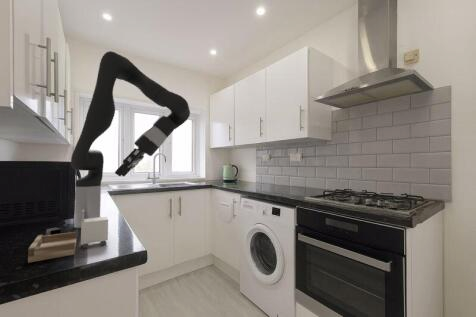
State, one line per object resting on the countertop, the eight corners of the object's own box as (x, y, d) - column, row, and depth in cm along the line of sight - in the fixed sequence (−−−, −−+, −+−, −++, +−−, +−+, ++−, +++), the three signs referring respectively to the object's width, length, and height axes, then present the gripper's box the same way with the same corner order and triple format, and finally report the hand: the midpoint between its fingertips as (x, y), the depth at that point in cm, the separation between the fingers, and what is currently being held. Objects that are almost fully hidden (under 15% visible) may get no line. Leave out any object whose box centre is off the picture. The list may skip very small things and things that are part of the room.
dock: (37, 247, 71) (38, 235, 71) (76, 241, 76) (76, 230, 76) (27, 262, 59) (28, 248, 59) (74, 254, 65) (74, 241, 65)
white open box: (81, 244, 73) (82, 209, 73) (106, 240, 77) (107, 207, 77) (80, 249, 68) (81, 212, 69) (107, 245, 72) (108, 209, 73)
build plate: (73, 242, 76) (73, 229, 77) (46, 249, 70) (46, 234, 70) (58, 236, 83) (58, 224, 83) (32, 242, 77) (33, 229, 77)
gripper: (144, 137, 88) (114, 169, 84) (141, 129, 75) (105, 167, 70) (159, 149, 90) (130, 181, 85) (159, 144, 76) (125, 181, 72)
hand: (119, 174), depth 78 cm, fingers open, 8 cm apart
